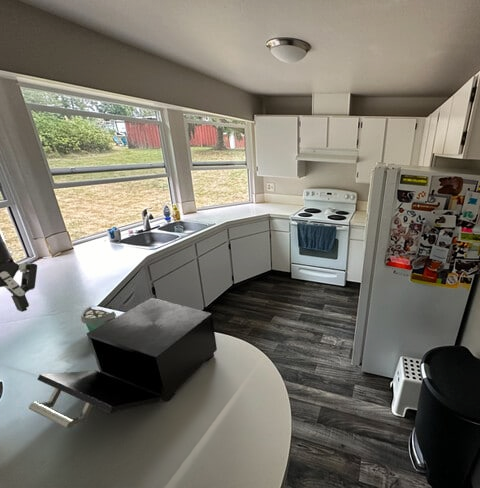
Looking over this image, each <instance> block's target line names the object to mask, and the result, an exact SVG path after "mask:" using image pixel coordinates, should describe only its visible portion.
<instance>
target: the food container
mask: <svg viewBox="0 0 480 488" xmlns="http://www.w3.org/2000/svg"><path fill="white" fill-rule="evenodd" d="M116 317H117V315H116V313H115V311H112V312H108V311H107V310H106V311H105V310H103V309H94V308H92V306H91V305H90V306H88V307H87V308H85V309H84V310H83V311H82V312H81V316H80V321H81V322H82V323H83V324H85V325H86V328H87V330H88V332H90V331H92V330H94V329H95V328H97V327H99V326H101V325H103V324H105V323H106V322H108V321H110V320H112V319H114V318H116Z"/></svg>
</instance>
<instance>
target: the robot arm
mask: <svg viewBox="0 0 480 488" xmlns="http://www.w3.org/2000/svg"><path fill="white" fill-rule="evenodd" d="M18 270H19V271H18ZM37 271H38V264H36V263H33V262H29V261H28V262H27V261H26V262H24V263H18V262H16V261H15V260H14V259H13V256H12V253H11V251H10V249H9V247H8V244H7V242H6V240H5V235H4V232H2V229H0V288H5V289H6V290H7V291H8V292H9V293H10V294H11V296H10V297H11V298H12V301H13V304H14V306H15V308H16V310H17V311H18V312H21V313H23V312H26V311H28V308H29V307H30V302H29V301H28V299H27V297H26V293H27V292H30V291H31V290H34V289H35V288H36V281H37ZM18 272H20V273H22V274H21V282H20V284H19V283H18V282H17V281H16V280H15V279H14V278H15V276H16V274H17V273H18Z"/></svg>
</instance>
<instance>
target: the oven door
mask: <svg viewBox="0 0 480 488" xmlns="http://www.w3.org/2000/svg"><path fill="white" fill-rule="evenodd" d="M36 380H37V381H39V382H41V383H44V384H46V385H47V386H50V387H52V388H54V390H53V392H52V394H51V395H50V397H49V399H48V401H45V402H39V401H37V400H36V401H33V402H31V403H30V404H29V405H28V409H29V410H30V411H33V412H34V413H36V414H38V415H40V416H42V417H44V418H46V419H48V420H49V421H52V422H53V423H56V424H57V425H59V426H60V427H62V428H65V429H67V430H68V429H69V430H70V429H71V428H73V427H74V426H75V425H80V424H84V423H85V422H86V420H87V418H88V416H89V415H90V412H91V409H92V408H93V406H94V407H96V408H97V409H100V410H102V411H105V412H106V413H109V414H112V413H116V412H121V411H125V410H130V409H134V408H138V407H142V406H147V405H151V404H156V403H160V402H161V400H162V399H161V396H158V395H156V394H153V393H151V392H148V391H146V390H143V389H141V388H138V387H136V386H133V385H131V384H128V383H126V382H123V381H121V380H118V379H116V378H113V377H111V376H108V375H106V374H103V373H101V372H100V371H98V370H85V371H84V370H83V371H72V372H71V371H69V372H58V373H57V372H56V373H55V372H54V373H41V374H39V375H38V377H37V379H36ZM62 392H63V393H65V394H68V395H70V396H72V397H74V398H76V399H78V400H81V401H83V402H85V404H84V407H83V409H82V411H81V413H80V415H79V416H78V417H74V418H72V417H70V416H68V415H66V414H63V413H62V412H60V411H58V410H55V409H53V407H54V406H55V404H56V403H57V400H58V399H59V396H60V395H61V393H62Z"/></svg>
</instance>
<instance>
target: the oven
mask: <svg viewBox="0 0 480 488" xmlns="http://www.w3.org/2000/svg"><path fill="white" fill-rule="evenodd" d="M214 326H215V325H214V318H213V313H212V312H208V311H204V310H200V309H197V308H193V307H188V306H185V305H182V304H177V303H174V302H169V301H165V300H161V299H159V298H154V297H151V298H148V299H146V300H145V301H144V302H143V301H142V302H141V303H139V304H138V305H136V306H134V307H132V308H131V309H129V310H127V311H125V312H123V313H121V314H119V315H117V316H116V317H115V318H114V319H112V320H110V321H108V322H106V323H105V324H103V325H101V326H99V327H97V328H95V329H94V330H92V331H90V332H89V331H88V332H86V336H87V339H88V341H89V345H90V348H91V349H92V353H93V355H94V358H95V361H96V364H97V367H98V370H99V372H101V373H103V374H106V375H108V376H111V377H113V378H116V379H118V380H121V381H123V382H126V383H128V384H131V385H133V386H136V387H138V388H141V389H143V390H146V391H148V392H151V393H153V394H156V395H158V396H161V400H163V401H166V402H169V401H170V400H172V398H173V397H174V396H175V395H176V391H177V390H178V389H179V388H180V387H181V386H182V385H183V384H184V383H185V382H186V381H187V380H188V379H189V378H190V377H191V376H192V375H193V374H194V373H195V372H196V371H197V370H199V368H200V367H201V366H202V365H203V364H204V363H206V362H207V361H210V360H212V358H213V357H214V356H215V352H216V351H217V350H218V348H217V340H216V334H215V333H216V331H215V327H214Z"/></svg>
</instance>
